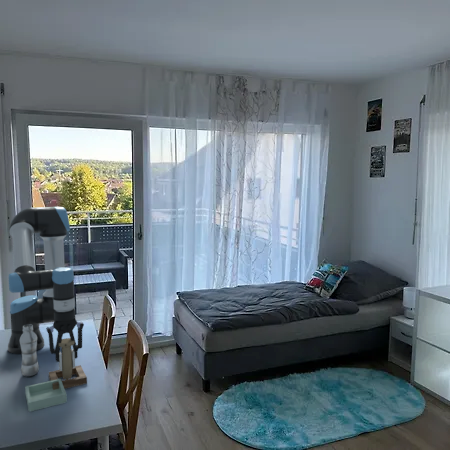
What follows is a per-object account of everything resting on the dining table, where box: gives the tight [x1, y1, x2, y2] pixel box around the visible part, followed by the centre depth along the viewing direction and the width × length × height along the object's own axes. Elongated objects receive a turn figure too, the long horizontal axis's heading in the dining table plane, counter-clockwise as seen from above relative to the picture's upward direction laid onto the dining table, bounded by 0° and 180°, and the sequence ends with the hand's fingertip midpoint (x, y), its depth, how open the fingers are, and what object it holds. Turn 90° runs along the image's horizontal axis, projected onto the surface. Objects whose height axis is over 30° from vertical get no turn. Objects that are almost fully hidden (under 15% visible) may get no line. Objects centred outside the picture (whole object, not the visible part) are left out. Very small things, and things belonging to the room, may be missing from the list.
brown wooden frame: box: [48, 364, 88, 390], centre depth 161 cm, size 12×12×2 cm
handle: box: [59, 337, 76, 380], centre depth 160 cm, size 5×6×15 cm
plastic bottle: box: [20, 324, 40, 377], centre depth 165 cm, size 6×7×20 cm
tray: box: [24, 378, 68, 413], centre depth 148 cm, size 13×12×3 cm
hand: (67, 367), depth 160 cm, fingers closed on handle, 4 cm apart
